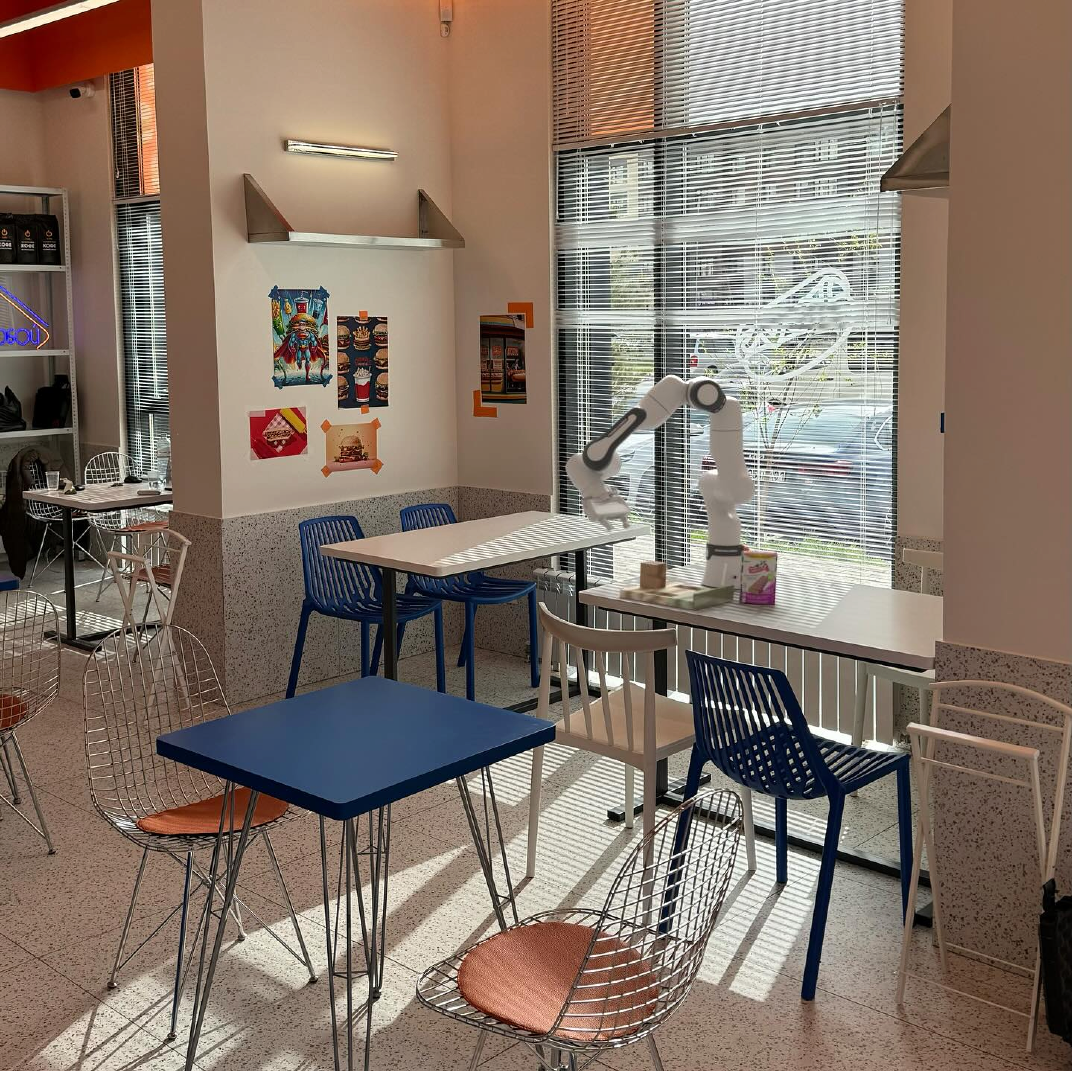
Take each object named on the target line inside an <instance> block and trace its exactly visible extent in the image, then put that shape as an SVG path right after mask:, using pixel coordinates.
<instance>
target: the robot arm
mask: <svg viewBox="0 0 1072 1071" xmlns="http://www.w3.org/2000/svg"><path fill="white" fill-rule="evenodd" d="M683 405H684V406H685V405H686V406H688V407H690V408H692V409H694V410H697V411H703V412H706V413H707V414H708V418H709V453H710V455H711V458H712V459H713V461H714V463H715V467H716V469H710V470H706V471H704V472H703V473H702V474H701V475H700V477H699V478H698V481H697V488H698V491H699V493H700V495H701V496H702V498H703V502H704V506H705V511H706V514H707V515H706V516H707V542H706V545H705V559H706V560H705V568H704V572H703V577H702V580H701V584H702V585H704V586H707V587H712V588H719V587H723V586H728V585H734V590H740V575H741V555H742V551H751V549H750V548H749V547H748V546H746V545H744V544H742V543H741V537H742V536H741V535H742V533H741V532H742V522H741V518H740V517H739V515H738V513H737V510H736V506H741V505H745V504H748V503H750V502H751V501H752V500H753V499H754V497H755V493H756V486H755V482H754V481H753V479H752V477H751V476H750V473H749V471H748V468H747V464H746V459H745V454H744V424H743V421H744V420H743V412H742V406H741V403H740V401H739V400H738V399H737V398H735V397H734V396H733V397H732V396H726V394H725V392H724V391H723V388H722V387H721V385H720V384H719V383H718V382H717V381H716V380H715V379H713V378H712V377H711V378H710V377H708V376H697V377H692V378H689V379H686V380H683V379H682V378H681V377H679V376H676V375H674V374H669V375H666V376H665V377H663V378H662V379H660V380H659V381H658V382H657V383H656V384H654V385H653V386H652V387H651V388H650V389H649V390H648V391H647V392H646V393H645V395H644V396H643V397H642V398H640V400H639V401H638V402H637V403H636V404H635V405H634V406H633V407H632V408H631V409H630V410H629V411H627V412H626V413H624V414H623V415H622V417H620V418H619V419H618V420H617V421H616V422H614V424H613V425H612V426H611V427H609V429H608V430H606V432H604V433H603V434H602V435H601V436H599V437H597V438H594V439H592V440H590V441H589V442H588V443H587V444H585V446H584V447H583V450H582V452H577V453H574V454H573V455H571V457H570V458H569V459H568V460H567V462H566V464H565V471H566V474H567V477H568V479H569V480H570V481H571V484H572V485H573V486H574V487H575V488H576V489H577V490H578V491H579V493H580V496H581V499H580V504H581V505H582V509H583V510H582V511H584V513H585V515H586V517H587V519H588V520H589V521H590V522H592V523H597V522H599V524H600V525H602V526H603V528H604V527H605V529H606V530H607V531H608V532H610V531H613V530H614V528H615V527H614V526H613V524H612V523H610V522H609V521H616V520H619V521H620V522H622V527H623V529H624V530H626V529H627V530H628V529H629V528H630V527H631V524H630V522H629V519H628V517H629V516H630V514H631V507H629V505H628V503H627V502H626V500H625V498H624V497H623V496H622V495H620V490H619V489H618V488H615V487H612V486H610V485H608V484H606V483H605V481H607V480H609V479H610V478H612V477H614V476H615V475H617V474H618V473H619V472H620V470H621V469H622V464H623V462H622V458H621V456H620V455H619V453H618V452H617V451H616V450H617V449H619V447H620V446H621V445H622V444H623V443H624V442H625V441H626V440H628V438H629V437H630V436H632V435H633V434H634V433H636V432H638V431H640V430H641V431H642V430H654V429H658V428H659V427H660V426H662V425H663V424H664V423H666V421H668V419H670V417H671V416H672V415H673V414H674V413H675V412H676V411H677V409H679V408H680V407H682V406H683Z"/></svg>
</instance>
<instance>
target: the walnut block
mask: <svg viewBox="0 0 1072 1071" xmlns="http://www.w3.org/2000/svg"><path fill="white" fill-rule="evenodd" d="M639 565H640V567H639V568H640V570H639V571H640V572H639V585H640V587H643V588H649V589H659V588H664V587H666V582H667V562H663V561H655V560H649V561H643V562H640V564H639Z"/></svg>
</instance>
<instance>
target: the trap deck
mask: <svg viewBox="0 0 1072 1071" xmlns="http://www.w3.org/2000/svg"><path fill="white" fill-rule="evenodd" d="M619 597H620V598H623V599H628V598H629V599H631V600H635V601H640V602H641V601H642V602H647V603H651V604H657V603H658V604H657V605H665V606H671V607H675V608H681V609H687V610H692V611H697V610H700V609H705V608H709V607H712V606H713V607H714V606H717V605H720V604H721V605H722V604H725V603H729V602H732V601H735V589H734V585H728V586H723V587H714V588H707V587H701V586H695V585H689V584H681V583H675V582H670V581H666V587H664V588H659V589H649V588H643V587H640V584H638V585H634V586H630V587H623V588H620V589H619ZM629 599H628V600H629Z"/></svg>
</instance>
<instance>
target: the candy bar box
mask: <svg viewBox="0 0 1072 1071" xmlns="http://www.w3.org/2000/svg"><path fill="white" fill-rule="evenodd" d="M778 557H779V556H778V553H777V552H776V551H758V550H757V551H756V550H755V551H754V550H749V551H742V555H741V575H740V589H739V594H738V595H739V596H738V598H739V599H738V601H739V604H747V605H767V606H768V605H770V606H771V605H772V606H775V604H776V591H777V590H776V589H777V588H776V587H777V574H778V573H777V571H778V570H777V569H778Z"/></svg>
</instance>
